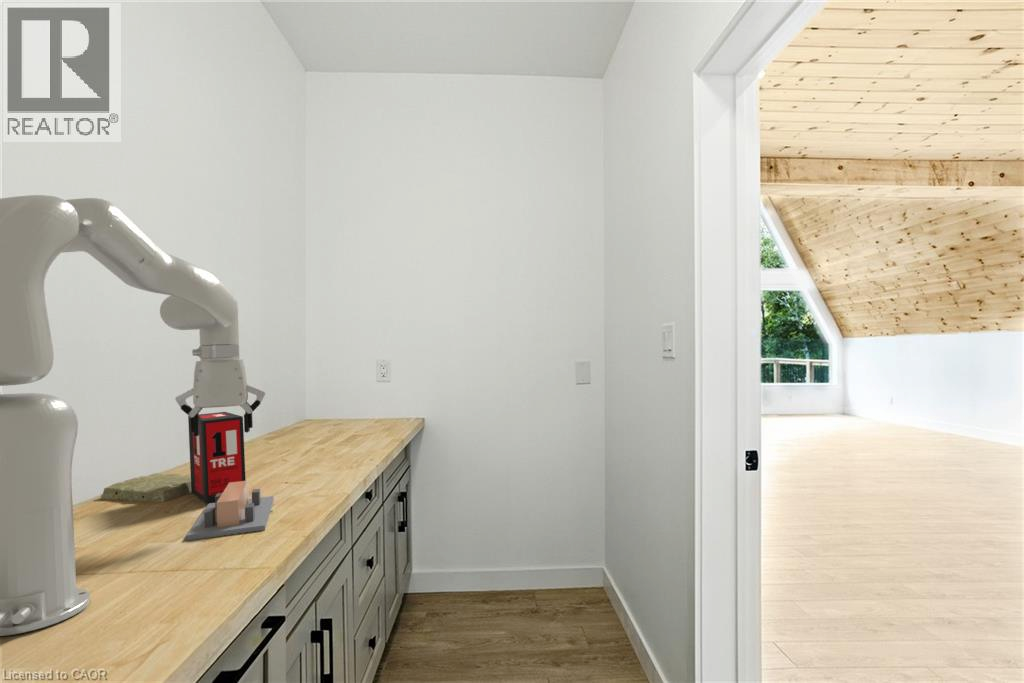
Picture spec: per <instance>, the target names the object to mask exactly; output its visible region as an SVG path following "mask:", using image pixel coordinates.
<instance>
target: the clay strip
mask: <svg viewBox="0 0 1024 683" xmlns="http://www.w3.org/2000/svg"><path fill="white" fill-rule="evenodd" d="M249 487H250V486H249V480H246V481H240V482H230V483H229V484H228V485H227V487H226V489H225V490H224V492H223V493H222V495H221V496H220V498H219V499H218V501H217V502H216V504H217V527H224V526H232V525H239V524H240V522H241V519H242V517H243V515H244V513H245V506H246V504H248V503H249V499H250V490H249Z"/></svg>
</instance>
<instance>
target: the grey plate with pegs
mask: <svg viewBox="0 0 1024 683" xmlns="http://www.w3.org/2000/svg"><path fill="white" fill-rule="evenodd" d="M221 495H222V493H217V495H216V496H215V503H209V504H206V505H207V506H206V507H205V508H204V510H203V511H202V513H201V514H200V515H199V517H198V519H197V520H196V521H195V522H194V524H193V525H192V527H191V529H190V530H189V531H188V532H187V534H186V541H193V540H201V539H208V538H209V539H210V538H216V537H224V535H225V536H231V534H233V535H237V534H238V535H239V533H240V534H246V533H245V532H248V533H254V531H256V532H263V531H266V528H267V524H268V522H269V518H270V515H271V510H272V507H273V504H274V496H273V495H272V496H271V495H270V496H261V489H260V488H254V489H252V491H251V498H249V503H248V504H246V506H245V513H244V515H243V517H242V519H241V522H240V524H239V525H232V526H224V527H217V504H216V502H217V501H218V499H219V498H220V496H221Z"/></svg>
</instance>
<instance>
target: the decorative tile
mask: <svg viewBox="0 0 1024 683" xmlns="http://www.w3.org/2000/svg"><path fill="white" fill-rule="evenodd" d="M190 493H192V492H191V473H189V474H188V473H186V474H184V473H183V474H180V473H169V474H168V473H161V472H157V473H155V472H154V473H152V474H148V475H142V476H138V477H134V478H129V479H127V480H123V481H120V482H119V481H118V482H115V483H113V484H111V485H108V486H107V487H105V488H103V493H101V495H100V498H101V499H102V500H104V499H109V500H119V499H120V501H129V502H152V503H153V502H157V503H158V502H159V503H161V502H162V503H164V502H168V501H170V500H172V499H175V497H176V498H177V497H181V496H184V495H187V494H190Z"/></svg>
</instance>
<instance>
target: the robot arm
mask: <svg viewBox="0 0 1024 683" xmlns="http://www.w3.org/2000/svg"><path fill="white" fill-rule="evenodd" d="M76 252H82V253H83V252H85V253H87V254H89V256H91V257H93V258H94V259H95V260H96V261H97V262H98V263H99V264H101V265H102V266H104V268H106V269H107V270H108V271H109V272H111V273H112V274H113V275H114V276H115V277H117V278H118V279H119V280H121V281H122V282H123V283H124V284H125V285H126V286H129V287H131V288H135V289H138V290H142V291H145V292H150V293H153V294H160V295H167V297H166V298H165V299H164V300H163V301H162V302H161V305H160V307H159V315H160V318H161V320H162V321H163V322H164V324H165V325H167V326H168V327H170V328H172V329H175V330H178V331H194V330H199V346H198V348H195V349H194V348H193V349H192V350H191V351H192V353H191V354H192V356H194V357H195V356H196V357H199V359H200V360H199V361H198V360H197V361H195V366H194V371H193V372H194V373H193V386H192V387H193V388H191V389H189V390H187V391H185V392H183V393H181V394H179V395H177V396H175V398H174V400H175V402H176V403H177V404H178V406H179V407H180V410H181V411H183V412H184V413H185V415H187V416H189V417H191V432H194V436H198V435H200V434H201V419H200V416H199V413H200V412H201V411H202V410H203V409H208V408H209V409H210V408H211V409H212V408H226V407H227V408H229V407H241V408H242V409H243V411H244V414H243V432H244V433H249V432H250V431H251V430H250V429H252V428H253V425H254V424H253V423H254V422H253V412H254V411H255V410H256V409H257V408H258V407H259V406H260V405H261V403H262V401H263V399H264V398H265V396H266V392H265V391H264V390H261V389H258V388H256V387H254V386H251V385H249V384H248V382H247V380H248V379H247V373H246V367H245V364H244V360H243V359H240V338H239V337H240V336H239V335H240V334H239V331H240V330H239V307H238V301H237V300H236V298H235V297H234V295H233V293H231V291H230V290H229V289H228V288H227V287H226V286H225V285H224V284H223V283H222V282H221V280H219V279H218V278H217V277H216V276H214V275H213V274H212V273H210V272H209V271H207V270H205V269H203V268H201V267H199V266H197V265H195V264H192V263H191V262H188V261H186V260H184V259H183V258H180V257H177V256H175V255H172V254H171V253H167V252H165V250H163V249H161V248H160V246H159V245H157V244H156V243H155V241H153V240H152V239H151V238H150V237H149V236H148V235H146V234H145V233H144V232H143V231H142V229H140V228H139V227H138V226H137V224H135V223H134V222H133V221H132V220H131V219H130V218H129V217H128V216H127V215H126V214H125V213H124V212H123V211H122V210H120V208H119V207H117V206H116V205H115V204H113V202H112V203H111V202H110V201H108V200H105V199H103V198H98V197H96V198H95V197H84V198H73V199H72V198H71V199H63V198H60V197H57V196H53V195H47V194H46V195H43V194H34V195H33V194H31V195H21V196H20V195H19V196H11V197H1V198H0V387H2V386H4V387H5V386H6V387H7V386H18V385H28V384H32V383H36V382H38V381H40V380H42V379H43V378H45V377H46V376H48V375H49V373H50V372H51V370H52V368H53V365H54V359H55V358H54V356H55V355H54V346H53V340H52V334H51V328H50V320H49V316H48V310H47V302H46V292H45V281H46V276H47V274H48V272H49V270H50V267H51V265H52V264H53V263H54V261H55V260H56V259H57V258H58V256H60V254H61V253H76ZM249 394H253V395H255V396H256V398H255V400H254V402H253V403H252V404H250V403H249V402H248V398H249V397H248V396H249ZM190 397H192V399H193V400H192V401H193V406H194V407H193V408H192V407H191V406H190V404H189V405H188V403H187V401H186V400H187V399H188V398H190ZM78 426H79V421H78V417H77V413H76V412H75V410H74V408H73V407H72V406H71V405H70V403H68V402H67V401H65V400H64V399H62V398H60V397H58V396H55V395H51V394H48V393H33V392H31V393H30V392H29V393H24V392H23V393H5V394H4V393H3V394H1V393H0V637H6V636H12V635H19V634H23V633H29V632H33V631H36V630H40V629H42V628H47V627H49V626H52V625H55V624H58V623H61V622H63V621H66V620H68V619H70V618H72V617H73V616H76V615H77V614H79V613H80V612H82V611H84V609H86V608H87V606H89V605H90V602H91V594H90V592H89V591H88V590H86V589H83V588H79V587H78V588H77V575H76V574H77V572H76V552H75V550H76V549H75V531H74V530H75V526H74V506H73V505H74V504H73V503H74V502H73V485H72V484H73V483H72V482H73V480H72V479H73V478H72V477H73V476H72V475H73V473H72V472H73V459H74V450H75V447H76V442H77V438H78V437H77V436H78V432H79V428H78Z"/></svg>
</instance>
